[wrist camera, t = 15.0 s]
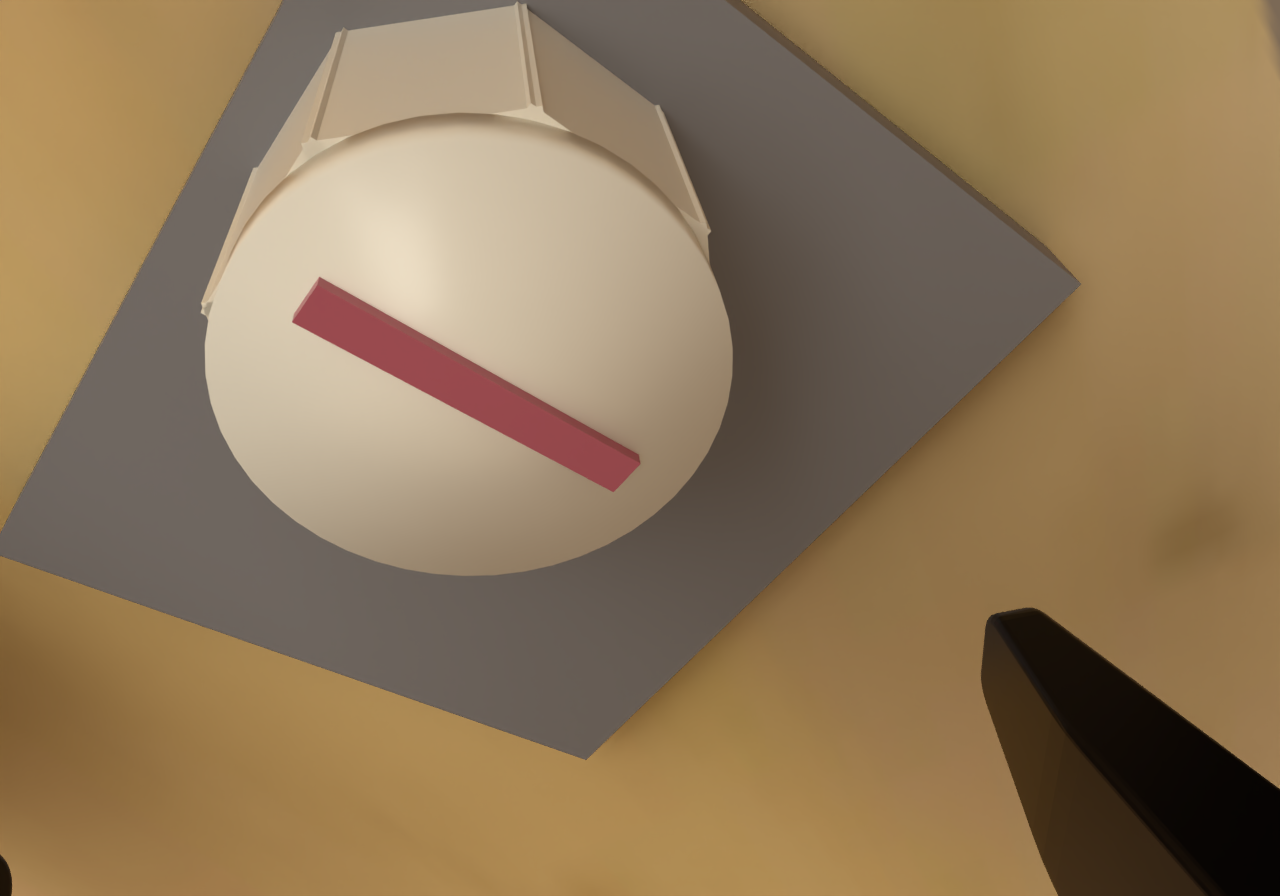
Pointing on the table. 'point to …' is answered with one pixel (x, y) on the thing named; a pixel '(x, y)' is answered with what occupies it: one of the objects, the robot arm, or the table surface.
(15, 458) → the table surface
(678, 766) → the table surface
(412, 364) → the knob
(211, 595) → the board
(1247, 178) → the table surface
